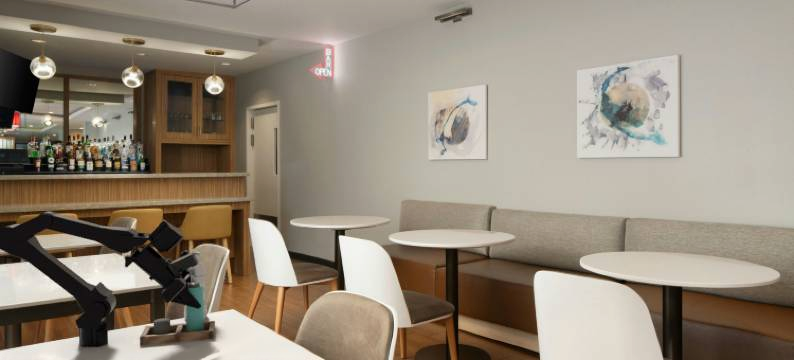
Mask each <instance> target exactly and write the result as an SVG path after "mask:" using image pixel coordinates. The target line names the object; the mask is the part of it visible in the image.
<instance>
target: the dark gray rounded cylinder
mask: <svg viewBox="0 0 794 360" xmlns="http://www.w3.org/2000/svg"><path fill="white" fill-rule="evenodd" d="M170 324H171V319H170V318H165V317H164V318H163V317H162V318H158V319H154V320H153V326H154V335H157V334H169V333H171V331H170Z"/></svg>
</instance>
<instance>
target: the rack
mask: <svg viewBox="0 0 794 360" xmlns="http://www.w3.org/2000/svg"><path fill="white" fill-rule="evenodd" d="M170 331H171V333H169V334H157V335H154V325H145V327H144V328H143V331H142V332H141V335H140V336H139V346H147V345H160V344H161V345H162V344H171V343H172V344H173V343H182V342H183V343H185V342H195V341H196V342H197V341H205V340H214V339H215V332H216V321H215V320H212V321H204V331H194V332H187V328H186V323H185V322H184V323H172V324H171V323H170Z"/></svg>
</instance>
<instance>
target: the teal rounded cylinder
mask: <svg viewBox="0 0 794 360" xmlns="http://www.w3.org/2000/svg"><path fill="white" fill-rule="evenodd" d="M189 291H190V292H191V293H192V294H193V296H194V297H195V298H196V299H197V300H198V302H199V303H200V304H201V307H200V308H199V309H197V308H193V307H190V306H186V320H185V322H186V328H187V332H194V331H204V322H205V319H204V304H203V285H200V283H199V282H193V283H189Z"/></svg>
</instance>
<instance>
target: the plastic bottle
mask: <svg viewBox="0 0 794 360" xmlns="http://www.w3.org/2000/svg"><path fill="white" fill-rule="evenodd" d="M193 253H194V254H195V256H196V258H197V260H198V264H197V265H196V266H194V267H190V268H188V269H189V270H190V271H191V272H190V274H188V275H187V276H186V278H188V277H189V276H190V275H191V283H193V282H199V283H200V285H203V304H204V320H205V319H207V316H208V306H207V303H206V295H205V292H206V290H205V289H206V278H207V269H206V266H205V265H204V264H203V263H202V261H201V260H202V259H203V258H202V253H201V252H193ZM183 318H184V320H185V321H186V305H184V307H183Z"/></svg>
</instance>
